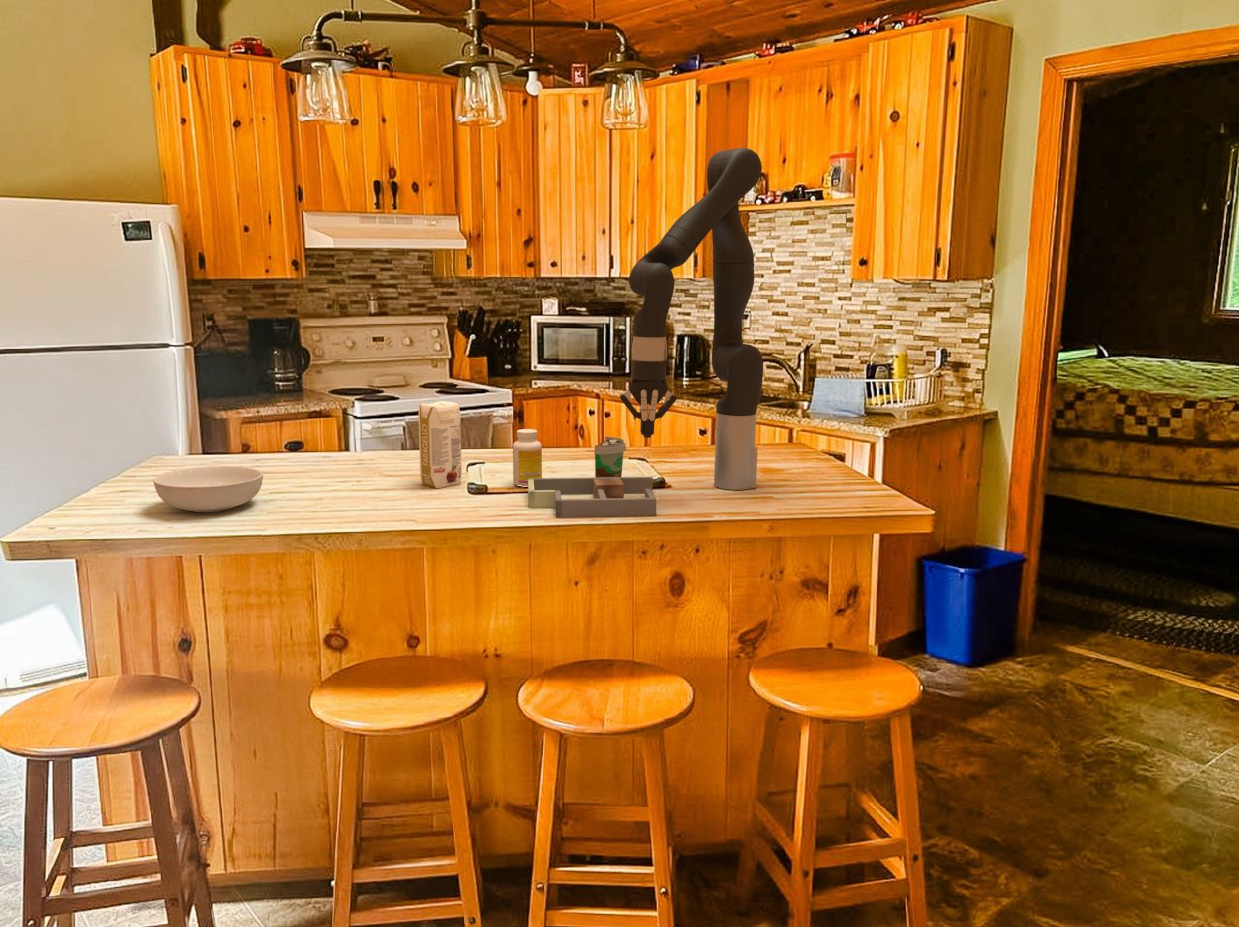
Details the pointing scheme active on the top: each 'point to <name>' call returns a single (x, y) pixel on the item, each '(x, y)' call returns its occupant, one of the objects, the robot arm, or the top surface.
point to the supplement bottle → (526, 457)
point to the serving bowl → (208, 487)
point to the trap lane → (550, 491)
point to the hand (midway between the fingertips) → (646, 437)
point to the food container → (609, 457)
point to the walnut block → (609, 487)
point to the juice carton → (440, 444)
